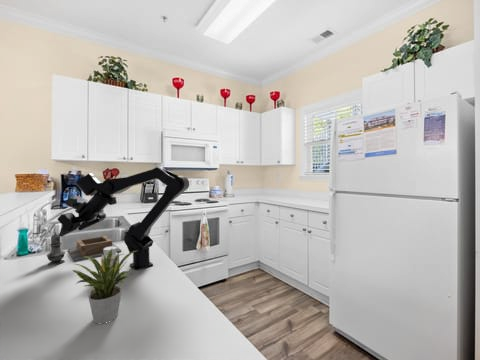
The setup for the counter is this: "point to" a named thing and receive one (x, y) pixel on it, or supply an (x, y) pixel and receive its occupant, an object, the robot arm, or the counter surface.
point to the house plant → (104, 288)
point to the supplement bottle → (114, 253)
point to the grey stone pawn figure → (55, 251)
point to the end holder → (91, 248)
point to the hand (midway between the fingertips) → (70, 232)
